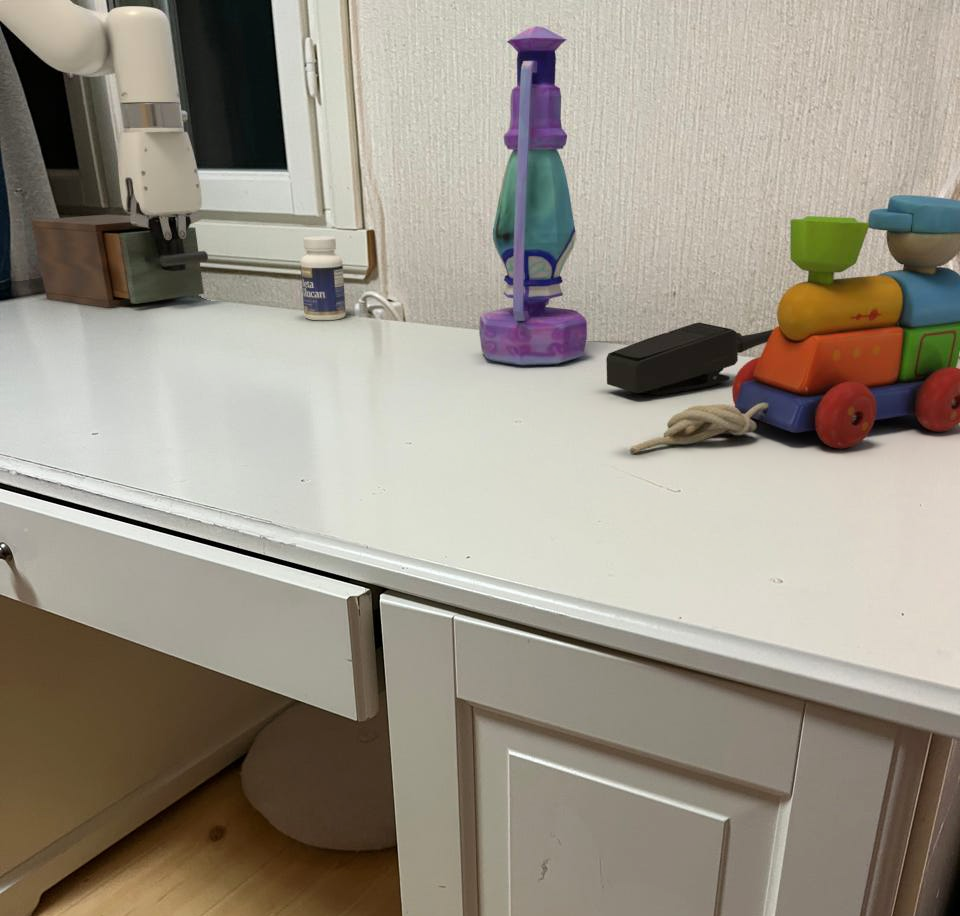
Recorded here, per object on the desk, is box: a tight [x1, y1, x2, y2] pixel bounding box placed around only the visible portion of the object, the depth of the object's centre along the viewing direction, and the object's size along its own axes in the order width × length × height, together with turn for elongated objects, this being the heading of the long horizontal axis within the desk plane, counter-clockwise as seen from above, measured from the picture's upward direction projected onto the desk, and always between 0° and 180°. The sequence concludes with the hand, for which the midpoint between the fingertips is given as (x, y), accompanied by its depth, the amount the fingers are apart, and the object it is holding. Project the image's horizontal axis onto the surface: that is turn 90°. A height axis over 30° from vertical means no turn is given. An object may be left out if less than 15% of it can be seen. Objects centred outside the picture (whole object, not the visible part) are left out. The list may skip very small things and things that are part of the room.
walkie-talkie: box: [605, 322, 774, 396], centre depth 92 cm, size 6×6×20 cm
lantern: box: [478, 25, 588, 366], centre depth 98 cm, size 13×12×30 cm
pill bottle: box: [299, 235, 347, 321], centre depth 127 cm, size 5×5×10 cm
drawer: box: [101, 226, 209, 305], centre depth 139 cm, size 20×12×9 cm, turn 53°
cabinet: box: [30, 214, 181, 309], centre depth 144 cm, size 16×13×11 cm
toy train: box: [629, 194, 960, 454], centre depth 74 cm, size 12×29×17 cm, turn 115°
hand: (174, 269), depth 136 cm, fingers closed
